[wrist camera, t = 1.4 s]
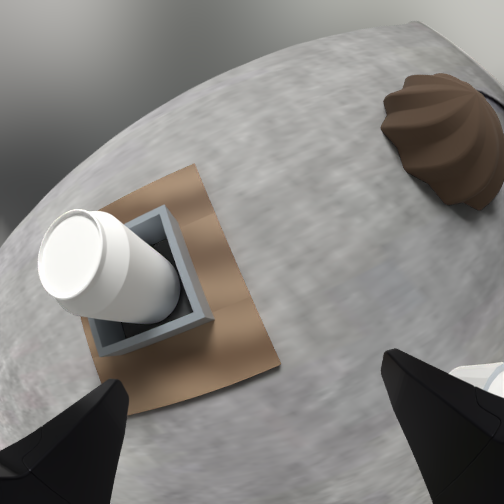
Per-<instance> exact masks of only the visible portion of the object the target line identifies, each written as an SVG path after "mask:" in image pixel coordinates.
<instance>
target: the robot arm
mask: <svg viewBox="0 0 504 504" xmlns="http://www.w3.org/2000/svg"><path fill="white" fill-rule="evenodd" d="M381 375H382V378H383V381H384V384H385V387H386V389H387V392H388V395H389V398H390V401H391V404H392V407H393V410H394V412H395V415H396V417H397V419H398V421H399V423H400V425H401V428H402V430H403V432H404V434H405V436H406V439H407V441H408V443H409V445H410V448H411V450H412V452H413V455H414V457H415V459H416V462H417V464H418V466H419V469H420V471H421V474H422V476H423V479H424V481H425V484H426V486H427V489H428V491H429V494H430V497H431V499H432V500H433V501H432V502H433V504H504V398H503V397H500V396H497V395H495V394H492V393H490V392H487V391H485V390H483V389H481V388H478V387H476V386H475V387H474V385H472V384H470V383H467V382H465V381H463V380H461V379H459V378H457V377H455V376H453V375H450V374H448V373H446V372H444V371H442V370H440V369H438V368H436V367H434V366H432V365H429V364H427V363H425V362H423V361H421V360H419V359H417V358H415V357H413V356H411V355H409V354H407V353H405V352H403V351H401V350H399V349H396V348H394V349H391V350H387V351H385V353H384V355H383V361H382V366H381ZM128 407H129V395H128V393H127V391H126V389H125V388H124V386H123V384H122V382H121V381H120V380H119V379H108V380H107V381H105V382H104V383H102V384H101V385H100V386H98V387H97V388H95V389H94V390H93V391H91V392H90V393H88V394H87V395H86V396H84V397H83V398H81V399H80V400H79V401H77V402H76V403H74V404H73V405H72V406H70V407H69V408H67V409H66V410H64V411H63V412H62V413H60V414H59V415H57V416H56V417H54V418H53V419H52V420H50V421H49V422H47V423H46V424H44V425H43V427H42V426H41V427H40V428H38V429H37V430H36V431H34V432H33V433H31V434H29V435H28V436H26V437H25V438H23V439H21V440H19V441H18V442H16V443H14V444H12V445H10V446H8V447H7V448H5V449H3V450H1V451H0V504H110V500H111V494H112V489H113V484H114V479H115V474H116V470H117V465H118V461H119V456H120V452H121V448H122V444H123V439H124V435H125V428H126V421H127V414H128Z"/></svg>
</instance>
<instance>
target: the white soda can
mask: <svg viewBox="0 0 504 504" xmlns="http://www.w3.org/2000/svg"><path fill="white" fill-rule="evenodd" d="M38 273H39V278H40V281H41V283H42V286H43V287H44V289H45V290H46V292H47V293H48V294H49V295H51V296H52V297H54V298H55V299H56V300H57V302H58V303H59V304H60V305H61V306H62V307H63V308H64V309H65V310H66V311H68V312H69V313H71V314H74V315H77V316H82V317H88V318H95V319H102V320H110V321H118V322H126V323H136V324H154V323H157V322H160V321H162V320H164V319H165V318H166V317H168V316H169V315H170V314H171V313H172V311H173V310H174V308H175V307H176V305H177V303H178V300H179V296H180V280H179V277H178V274H177V272H176V270H175V268H174V267H173V265H172V264H171V263H170V262H169V261H168V260H167V259H166V258H164V257H163V256H162V255H161V254H159V253H158V252H157V251H156V250H154V249H153V248H152V247H151V246H149V245H148V244H147V243H146V242H144V241H143V240H142V239H141V238H139V237H138V236H137V235H136V234H135V233H133V232H132V231H131V230H130V229H129V228H127V227H126V226H125V225H124V224H123V223H121V222H120V221H119V220H118V219H116V218H115V217H114V216H112V215H111V214H109V213H106V212H102V211H90V212H88V211H85V210H81V209H75V210H71V211H68V212H66V213H64V214H62V215H61V216H60V217H58V218H57V219H56V220H55V221H54V222H53V223H52V225H51V226H50V227H49V229H48V230H47V232H46V234H45V236H44V238H43V240H42V243H41V246H40V250H39V255H38Z"/></svg>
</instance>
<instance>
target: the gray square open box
mask: <svg viewBox="0 0 504 504" xmlns="http://www.w3.org/2000/svg"><path fill="white" fill-rule="evenodd" d="M124 225H125V226H126V227H127V228H129V229H130V230H131V231H132V232H133V233H135V234H136V235H137V236H138V237H139V238H141V239H142V240H143V241H144V242H146V243H147V244H148V245H149V246H151V245H153V244H155V243H157V242H160V241H162V240H164V239H166V238H167V239H168V242H169V245H170V248H171V251H172V254H173V257H174V260H175V263H176V266H177V269H178V271H179V274H180V277H181V280H182V282H183V285H184V288H185V291H186V293H187V296H188V299H189V301H190V304H191V306H192V309H193V313H191V314H188V315H186V316H183V317H181V318H178V319H176V320H173V321H171V322H168V323H166V324H163V325H161V326H158V327H156V328H153V329H151V330H148V331H146V332H143V333H140V334H138V335H135V336H133V337H130V338H127V339H126V337H125V334H124V331H123V328H122V324H121V322H118V321H110V320H102V319H95V318H88V317H87V318H88V321H89V325H90V329H91V332H92V336H93V339H94V342H95V345H96V349H97V352H98V355H99V357H108V356H118V355H123V354H126V353H129V352H132V351H135V350H137V349H140V348H143V347H146V346H148V345H151V344H154V343H156V342H159V341H162V340H164V339H167V338H170V337H172V336H175V335H177V334H180V333H183V332H185V331H188V330H190V329H193V328H195V327H198V326H200V325H203V324H205V323H208V322H210V321H212V320H215V319H214V316H213V314H212V311H211V309H210V306H209V304H208V301H207V299H206V296H205V294H204V291H203V289H202V286H201V284H200V281H199V279H198V276H197V273H196V271H195V268H194V265H193V263H192V260H191V257H190V255H189V252H188V249H187V246H186V244H185V241H184V238H183V235H182V232H181V229H180V227H179V224H178V222H177V220H176V219H175V218H174V216H173V215H172V214H171V212H170V211H169V210H168V208H167V207H166V206H165V204H164V205H162V206H160V207H158V208H156V209H154V210H152V211H149V212H147V213H145V214H143V215H141V216H139V217H137V218H135V219H133V220H131V221H129V222H127V223H125V224H124Z"/></svg>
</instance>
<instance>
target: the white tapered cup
mask: <svg viewBox="0 0 504 504" xmlns="http://www.w3.org/2000/svg"><path fill="white" fill-rule="evenodd" d="M449 374H450V375H453V376H455V377H457V378H459V379H461V380H463V381H465V382H467V383H470V384H472V385H474V387H475V386H476V387H478V388H481V389H483V390H485V391H487V392H490V393H492V394H495V395H497V396H500V397H503V398H504V362H500V363H492V364H482V365H470V366H460V367H457V368H455V369H453V370H452V371H451V372H450V373H449Z"/></svg>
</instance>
